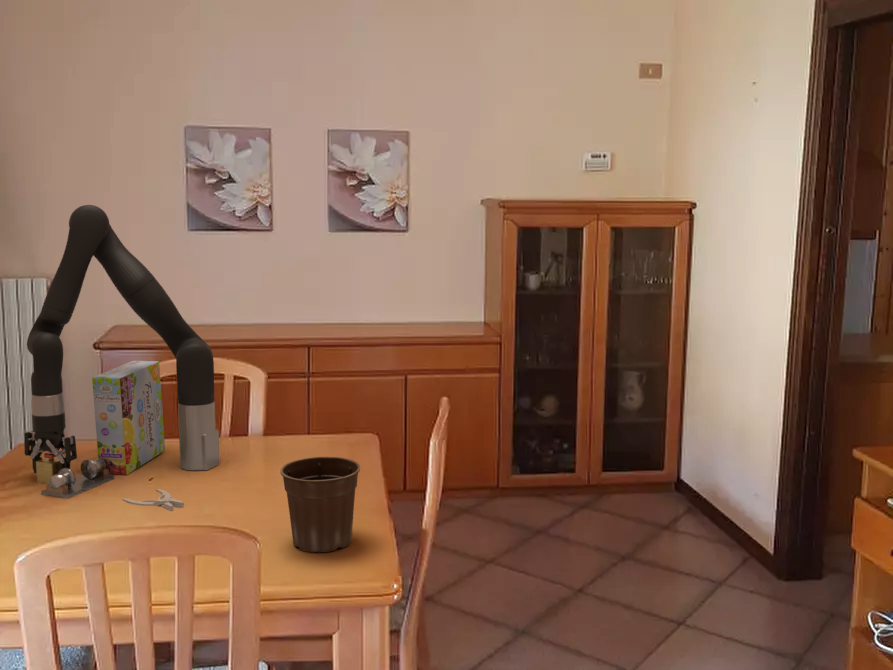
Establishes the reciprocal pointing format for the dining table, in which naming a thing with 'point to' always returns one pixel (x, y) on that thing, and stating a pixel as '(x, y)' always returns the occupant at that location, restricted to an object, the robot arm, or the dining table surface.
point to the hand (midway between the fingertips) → (51, 474)
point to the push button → (47, 467)
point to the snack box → (129, 415)
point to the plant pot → (321, 501)
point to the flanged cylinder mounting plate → (78, 479)
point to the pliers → (159, 501)
